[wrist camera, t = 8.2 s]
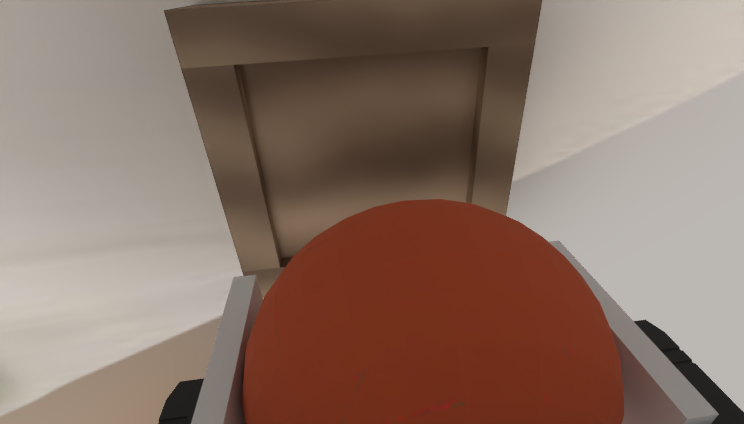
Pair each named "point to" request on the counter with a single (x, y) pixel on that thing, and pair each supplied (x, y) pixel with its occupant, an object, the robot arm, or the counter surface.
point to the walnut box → (352, 109)
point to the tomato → (431, 327)
